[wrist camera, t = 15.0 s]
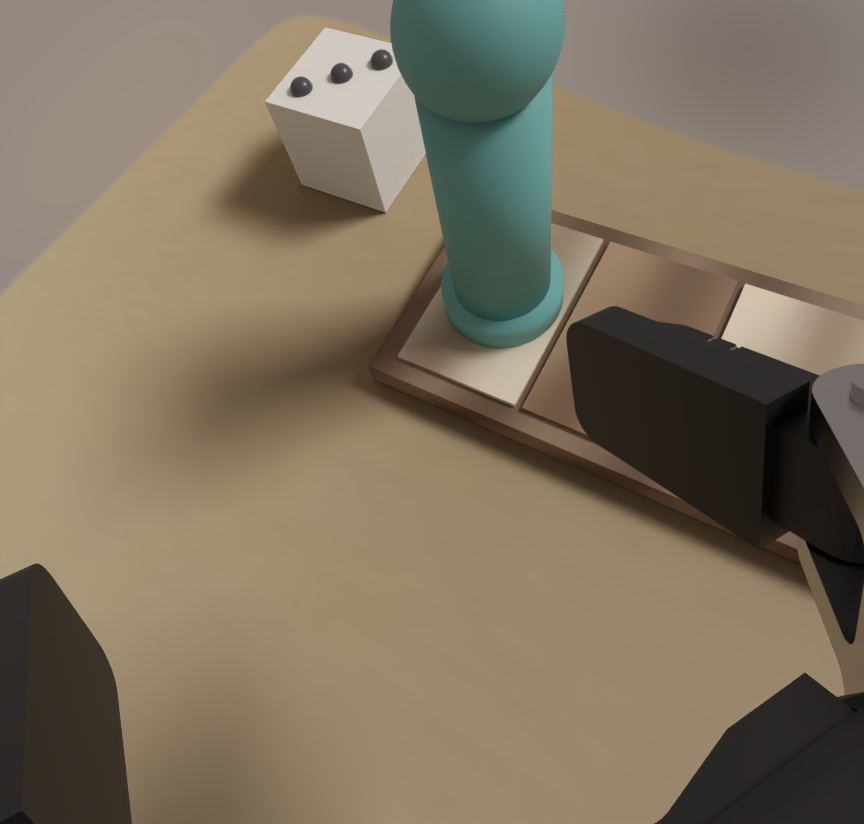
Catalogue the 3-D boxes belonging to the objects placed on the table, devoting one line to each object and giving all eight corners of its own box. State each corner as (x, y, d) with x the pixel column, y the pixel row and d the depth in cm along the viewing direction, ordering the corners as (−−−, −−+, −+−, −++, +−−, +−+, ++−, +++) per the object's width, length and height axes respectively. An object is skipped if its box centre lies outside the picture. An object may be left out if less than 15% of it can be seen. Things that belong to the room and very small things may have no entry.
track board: (375, 379, 29) (367, 363, 28) (483, 207, 32) (480, 185, 31) (1018, 658, 21) (1048, 653, 20) (1077, 394, 24) (1106, 375, 23)
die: (301, 184, 34) (260, 91, 29) (352, 116, 36) (321, 17, 31) (385, 212, 33) (357, 119, 28) (435, 139, 34) (417, 39, 29)
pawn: (424, 323, 28) (324, -13, 15) (478, 236, 29) (427, -135, 17) (531, 365, 26) (517, 29, 14) (582, 271, 28) (611, -109, 15)
